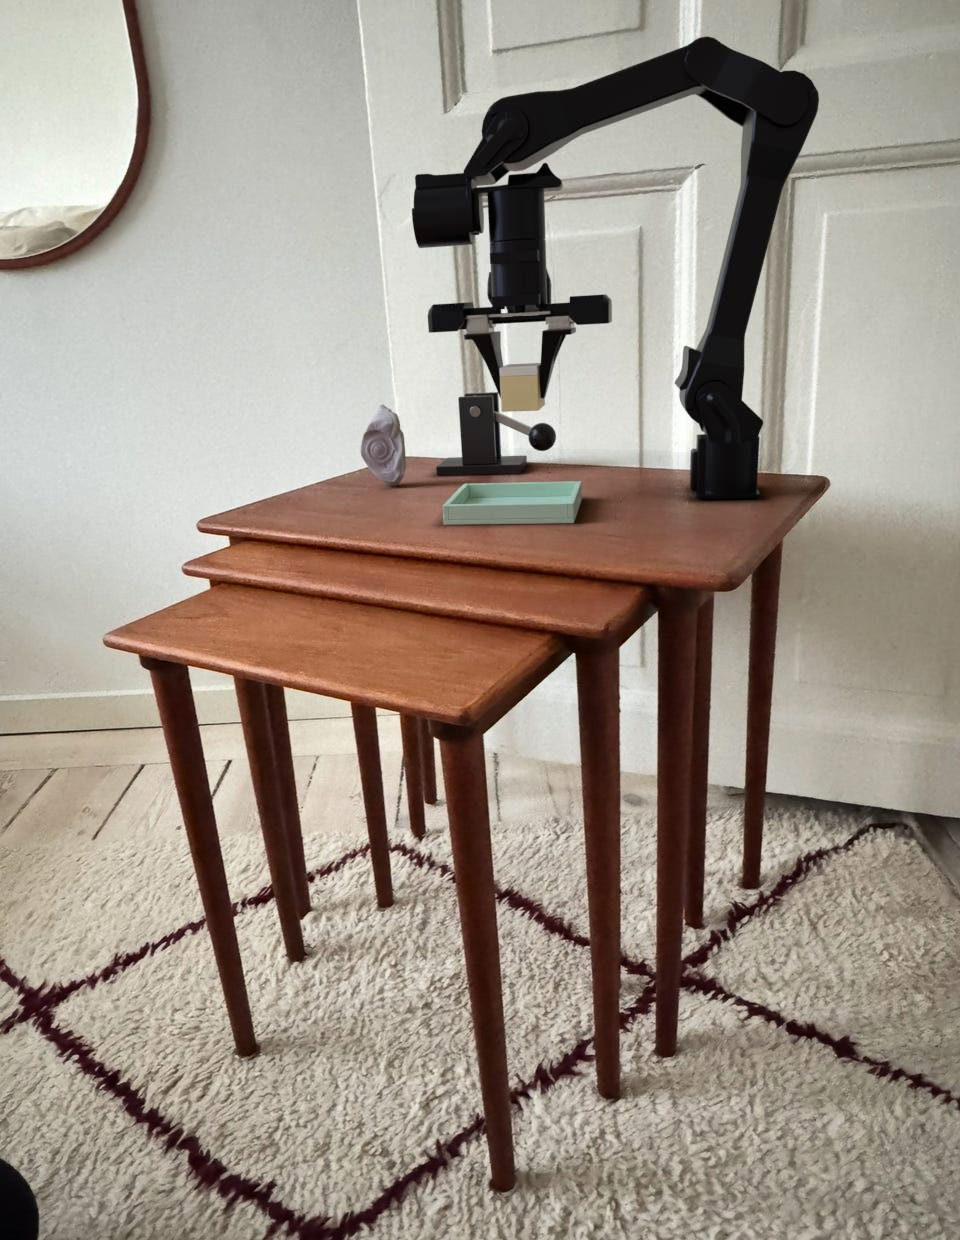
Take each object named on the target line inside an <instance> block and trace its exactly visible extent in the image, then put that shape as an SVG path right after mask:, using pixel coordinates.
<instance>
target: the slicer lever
mask: <svg viewBox="0 0 960 1240" xmlns="http://www.w3.org/2000/svg"><path fill="white" fill-rule="evenodd" d="M474 396H476V395H474ZM494 420H495V421H496V422H499V423H500V425H503V426H506V427H507V428H510V429H512V430H515V431H516V432H519V433H521V434H523V435H526V436H527V437H528V438H527V439H528V442H529V445H530V446H531V447H532V449H534V450H536V451H539V452H545V451H546V452H547V451H549V450H550V449H552V447H554V445H555V443H556V441H557V433H556V430H555V428H554V427H553V426H552V425H551V424H548V423H546V422H539V423H536V424H534V425H533V426H529V425H527V424H525V423H524V422H521V421H518V420H517V419H514V418H512V417H509V416H507V415H505V414H504V413H501V412H500V411H499V412H496V411H494Z"/></svg>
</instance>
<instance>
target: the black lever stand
mask: <svg viewBox="0 0 960 1240" xmlns="http://www.w3.org/2000/svg"><path fill="white" fill-rule="evenodd" d="M474 395H476V396H474ZM499 399H500V397H499V393H498V391H493V392H468V393H467V392H466V393H464V395H463V396H458V399H457V401H458V413H459V414H458V415H459V431H460V432H459V433H460V445H461V446H460V447H461V448H460V449H461V456H458V457H457V456H455V457H447V458H445V459H444V460H443V461H442V462H441V463H439V464H438V465H436V468H435V469H436V476H437V477H442V476H443V477H444V476H487V475H520V474H521V473H522V471H523V470H524V469H525V467H526V466H527V465H528V457H527V455H502V442H501V423H499V422H496V421H495V420H494V411H496V412H499V413H500V402H499V401H500V400H499Z"/></svg>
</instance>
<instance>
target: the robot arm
mask: <svg viewBox="0 0 960 1240" xmlns="http://www.w3.org/2000/svg"><path fill="white" fill-rule="evenodd" d="M694 95H696V96H697V97H699V98H700V99H702V100H704V101H705V102H707V103H708V104H709V105H710V106H712V107H713V108H714V109H716V111H718V113H721V114H722V115H723V116H724V117H726V118H727V119H729V120H730V121H732V122H733V123H735V124H737V125H738V126H740V127H742V131H741V132H742V133H741V147H740V187H739V190H738V195H737V199H736V203H735V207H734V212H733V215H732V220H731V224H730V227H729V232H728V237H727V240H726V246H725V248H724V253H723V257H722V262H721V266H720V269H719V274H718V278H717V282H716V286H715V291H714V295H713V298H712V303H711V307H710V312H709V314H708V315H709V316H708V320H707V324H706V328H705V330H704V332H703V334H702V336H701V339H700V341H699V343H698V344H697V347H696V348H693V347H691V346H688V345H684V346H683V348H682V358H681V359H682V361H681V369H680V372H679V374H678V376H677V377H676V379H675V381H674V385H675V386H676V387H677V388H678V390H679V391H678V392H679V394H678V397H679V402H680V404H681V406H682V407H683V410H684V411H685V412H686V414H687V415H688V416H689V418H690V419H692V420H693V421H694V422H696V423H697V424H698V426H699V428H700V431H701V432H702V433H701V434H696V446H695V447H696V448H691V450H690V467H689V487H690V488H689V489H690V491H692V492H694V496H695V499H697V500H713V499H714V500H717V499H719V500H720V499H721V500H722V499H723V500H725V499H759V498H760V495H761V494H760V491H759V490H758V479H759V475H758V474H759V457H760V433H761V431H762V427H763V425H764V419H762V418H761V417H760V416H759V415H758V414H757V413H756V412H755V411H754V410H753V409H752V408H750V407H749V405H748V404H747V403H745V401H743V391H744V381H745V340H746V332H747V329H748V325H749V321H750V317H751V313H752V309H753V305H754V301H755V299H756V298H755V297H756V294H757V290H758V286H759V282H760V278H761V274H762V270H763V266H764V263H765V259H766V254H767V252H768V251H767V250H768V246H769V244H770V239H771V235H772V231H773V227H774V223H775V219H776V215H777V212H778V207H779V203H780V200H781V196H782V192H783V188H784V186H785V183H786V181H787V179H788V177H789V176H790V174H791V172H792V169H793V167H794V165H795V163H796V161H797V160H798V157H799V156H800V154H801V151H802V150H803V147H804V145H805V142H806V140H807V138H808V136H809V134H810V131H811V128H812V126H813V124H814V121H815V119H816V117H817V114H818V111H819V103H820V96H819V95H820V94H819V91H818V89H817V88H816V86H815V84H814V82H813V80H812V79H811V78H809V76H808V75H806V74H805V73H803V72H801V71H797V70H782V71H780V70H778V69H776V68H775V67H773V66H771V65H769V64H768V63H766V62H765V61H763V60H760V59H758V58H755V57H752V56H750V55H747V54H745V53H743V52H739V51H737V50H735V49H733V48H730V47H728V46H727V45H725V44H724V43H722V42H720V41H719V40H718V39H716V38H715V37H711V36H708V35H707V36H701V37H698V38H696V39H694V40H693V41H692V42H690V43H688V44H687V45H685V46H682V47H680V48H676V49H674V50H671V51H669V52H666V53H663V54H661V55H657V56H655V57H653V58H650V59H646V60H644V61H642V62H639V63H637V64H634V65H631V66H628V67H626V68H623V69H621V70H617V71H615V72H613V73H609V74H607V75H604V76H602V77H599V78H596V79H594V80H591V81H589V82H585V83H583V84H581V85H578V86H575V87H572V88H566V89H560V90H559V89H558V90H541V91H539V90H537V91H532V92H525V93H520V94H515V95H507V96H504V97H501V98H499V99H498V100H496V101H494V102H493V103H492V104H491V105H490V106H489V107H488V109H487V111H486V113H485V116H484V118H483V119H482V126H481V140H480V142H479V143H478V145H477V147H476V148H475V149H474V152H473V153H472V155H471V157H470V158H469V160H468V162H467V163H466V166H465V167H464V169H463V172H459V173H447V174H432V173H419V174H416V175H415V176H414V183H415V188H414V192H413V207H412V208H411V217H412V218H411V219H412V227H413V233H414V238H415V239H414V240H415V242H416V245H417V247H418V248H419V249H425V248H426V249H429V248H439V247H440V248H443V247H456V246H472V245H474V243H475V237H476V236H479V235H480V234H484V231H485V230H484V229H485V213H484V199H483V197H487V214H488V215H487V217H488V218H487V219H488V237H489V239H488V240H489V264H490V271H489V272H488V277H487V287H486V291H487V292H486V293H487V294H486V295H487V300H488V302H489V303H490V305H491V306H485V307H484V306H483V307H482V306H481V307H475V306H474V305H475V304H474V302H470V301H469V302H452V303H436V304H435V303H434V304H432V305H431V306H430V308H428V313H427V326H428V334H429V333H431V334H432V333H450V332H458V331H460V330H462V331H463V330H465V334H463V339H464V340H465V341H469V340H470V341H473V343H474V345H475V346H476V348H477V351H478V352H479V354H480V355H481V357H482V359H483V361H484V363H485V364H486V367H487V369H488V372H489V374H490V376H491V380H492V382H493V383H494V386H495V388H496V390H497V391H496V392H498V397H499V399H501V390H500V368H501V367H503V366H504V360H503V354H502V348H501V347H502V344H501V342H502V341H501V335H502V333H501V331H500V330H499V331H498V330H497V331H496V330H495V327H497V325H503V324H520V323H539V322H540V323H541V322H545V325H547V328H546V329H544V330H542V332H541V349H540V350H541V351H540V363H541V366H540V392H541V398H546V397H547V394H548V393H547V392H548V389H549V385H550V383H551V379H552V375H553V370H554V367H555V363H556V360H557V357H558V355H559V352H560V350H561V347H562V346H563V344H564V341H565V339H566V337H567V336H571V335H573V334H576V332H577V327H576V326H575V324H576V325H577V326H582V325H583V326H585V325H602V324H603V325H604V324H610V323H612V322H613V301H612V299H611V297H609V296H608V294H590V295H574V296H573V295H572V296H569V301H568V302H555V303H553V302H552V280H551V277H550V274H549V271H548V268H547V245H546V244H547V243H546V242H547V241H546V240H547V239H546V210H545V209H546V208H545V193H548V192H560V191H561V190H563V188H564V183H563V182H562V179H561V178H560V177H558V176H557V175H555V173H553V171H552V170H551V168H550V165H549V164H548V163H547V162H543V163H542V165H541V166H540V167H539V169H537V171H536V172H526V173H515V174H509V172H521V171H525V170H527V169H529V168H530V167H532V166H534V165H536V164H538V163H539V162H541V161H543V160H544V159H546V158H548V157H550V156H551V155H553V154H554V153H556V152H558V151H559V150H560V149H562V148H564V146H567V144H570V142H572V141H574V140H576V139H577V138H579V137H581V136H582V135H585V134H587V133H591V132H593V131H595V130H598V129H601V128H604V127H606V126H607V127H608V126H609V125H612V124H614V123H618V122H621V121H623V120H626V119H629V118H631V117H635V116H638V115H641V114H643V113H645V112H648V111H651V110H654V109H656V108H660V107H662V106H665V105H667V104H671V103H674V102H677V101H679V100H682V99H685V98H687V97H690V96H694ZM506 175H508V177H507V184H502V185H496V184H497V183H498V182H499V181H500V180H501V179H502V178H504V177H505V176H506ZM479 186H480V187H479ZM481 186H482V187H481ZM483 186H484V187H483ZM502 310H507V312H502Z"/></svg>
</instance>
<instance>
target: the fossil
mask: <svg viewBox="0 0 960 1240" xmlns="http://www.w3.org/2000/svg"><path fill="white" fill-rule="evenodd" d="M405 442H406V441H405V434H404V432H403V431H402V429H401V422H400V419H399V416H398V414H397V413H395V412H393V411H392V409H391V408H388V407H387V406H386V405H384V404H380V405H379V406H378V408H377V410H376V413H374V415H373V416H372V417H371V419H370V421H368V424H367V426H366V427H365V431H364V433H363V436H362V439H361V442H360V443H361V444H360V456H361V458H362V460H363V461H364V463H365V465H366V466H367V467H368V469H369V470H370V472H371V473H372V474H373V475H374V476H375V477H376V478H377V479H378V480H379V481H381V482H383V483H384V484H386V485H387V486H390V487H397V486H399V485H400V484H401V481H402V480H403V478H404V477H405V472H406V469H407V458H406V457H407V456H406V445H405Z"/></svg>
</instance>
